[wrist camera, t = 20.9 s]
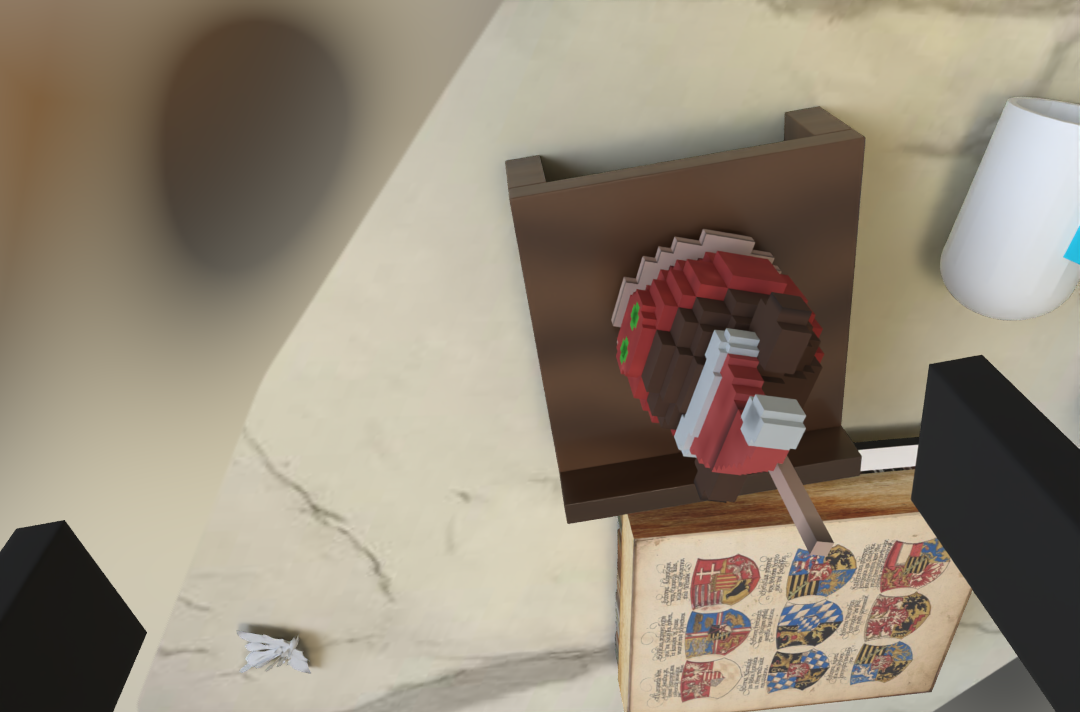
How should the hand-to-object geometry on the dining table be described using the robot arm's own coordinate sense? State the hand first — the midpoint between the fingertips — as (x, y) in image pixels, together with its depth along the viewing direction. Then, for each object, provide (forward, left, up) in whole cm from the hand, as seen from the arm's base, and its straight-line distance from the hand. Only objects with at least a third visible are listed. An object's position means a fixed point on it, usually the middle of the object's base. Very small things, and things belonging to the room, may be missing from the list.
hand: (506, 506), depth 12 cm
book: (+41, +17, -34) cm, 56 cm away
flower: (+43, -27, -34) cm, 61 cm away
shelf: (+15, +9, -33) cm, 38 cm away
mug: (+13, +31, -34) cm, 48 cm away
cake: (+13, +9, -28) cm, 32 cm away
